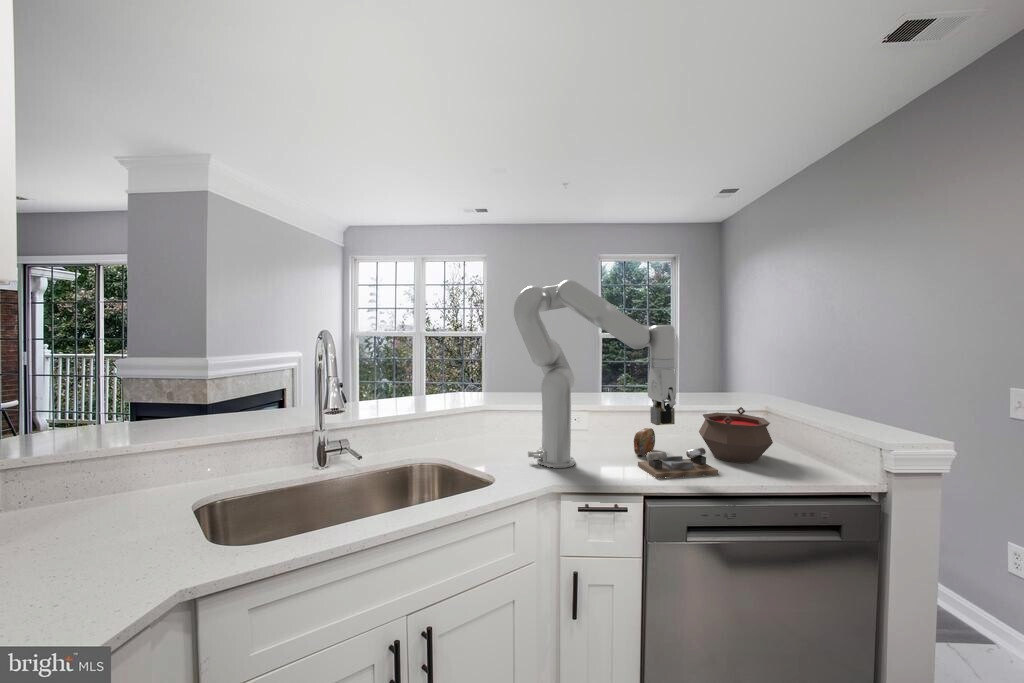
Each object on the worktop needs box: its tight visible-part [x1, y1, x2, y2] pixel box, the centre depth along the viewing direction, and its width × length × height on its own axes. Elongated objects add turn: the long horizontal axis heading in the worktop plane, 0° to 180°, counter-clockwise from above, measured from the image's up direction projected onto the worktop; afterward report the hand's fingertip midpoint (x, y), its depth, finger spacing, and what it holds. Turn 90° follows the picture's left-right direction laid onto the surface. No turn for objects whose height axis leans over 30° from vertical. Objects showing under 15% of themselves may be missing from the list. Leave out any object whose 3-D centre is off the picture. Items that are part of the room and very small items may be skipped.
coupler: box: [649, 406, 676, 426], centre depth 143 cm, size 6×4×5 cm, turn 100°
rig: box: [637, 451, 719, 479], centre depth 145 cm, size 21×12×6 cm, turn 101°
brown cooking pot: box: [698, 406, 774, 464], centre depth 160 cm, size 24×24×16 cm
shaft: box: [686, 447, 707, 465], centre depth 147 cm, size 6×4×5 cm, turn 121°
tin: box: [633, 427, 656, 457], centre depth 164 cm, size 15×3×8 cm, turn 143°
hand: (662, 421), depth 143 cm, fingers closed on coupler, 4 cm apart
